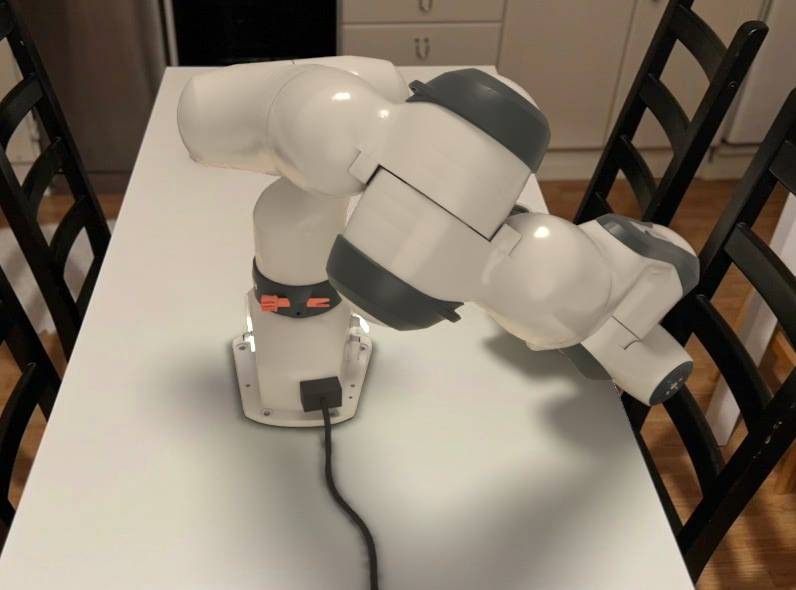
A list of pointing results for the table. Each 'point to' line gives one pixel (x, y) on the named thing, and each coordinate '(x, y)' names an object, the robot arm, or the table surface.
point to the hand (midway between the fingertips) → (526, 259)
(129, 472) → the table surface
